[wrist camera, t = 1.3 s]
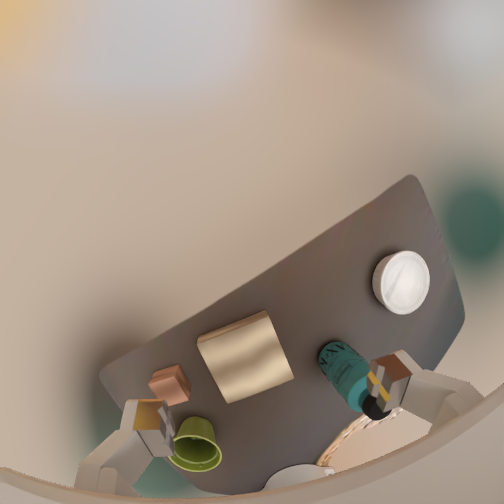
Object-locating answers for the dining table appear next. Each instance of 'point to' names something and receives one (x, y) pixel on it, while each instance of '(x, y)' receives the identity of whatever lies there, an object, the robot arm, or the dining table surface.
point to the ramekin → (401, 282)
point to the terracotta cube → (170, 385)
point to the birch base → (245, 357)
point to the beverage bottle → (350, 378)
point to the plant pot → (196, 446)
